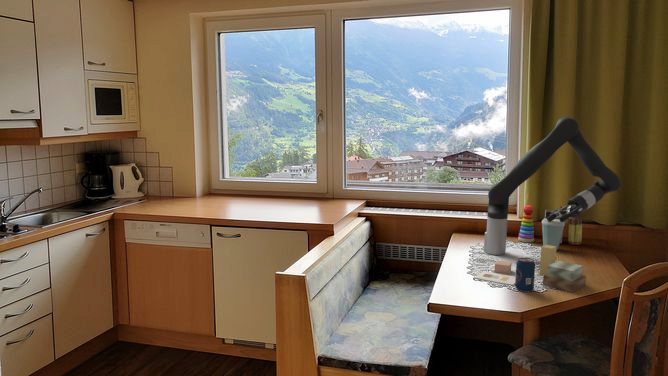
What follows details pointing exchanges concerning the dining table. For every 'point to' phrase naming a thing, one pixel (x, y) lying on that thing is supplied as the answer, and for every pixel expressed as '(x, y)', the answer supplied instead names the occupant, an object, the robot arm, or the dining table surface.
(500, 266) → the brick
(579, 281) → the tower base
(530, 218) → the stacking toy
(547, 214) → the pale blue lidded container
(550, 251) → the tall brick
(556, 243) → the disposable coffee cup
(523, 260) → the soda can
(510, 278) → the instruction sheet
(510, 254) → the dining table surface
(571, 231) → the sauce bottle
